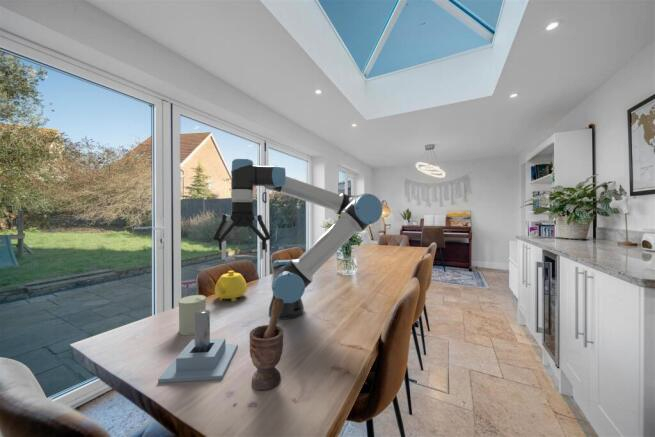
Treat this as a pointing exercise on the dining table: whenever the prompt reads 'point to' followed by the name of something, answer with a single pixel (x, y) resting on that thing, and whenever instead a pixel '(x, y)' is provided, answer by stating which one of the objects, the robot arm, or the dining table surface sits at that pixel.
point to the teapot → (230, 286)
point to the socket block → (200, 363)
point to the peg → (202, 331)
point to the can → (189, 312)
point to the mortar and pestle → (267, 350)
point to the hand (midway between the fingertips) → (242, 258)
